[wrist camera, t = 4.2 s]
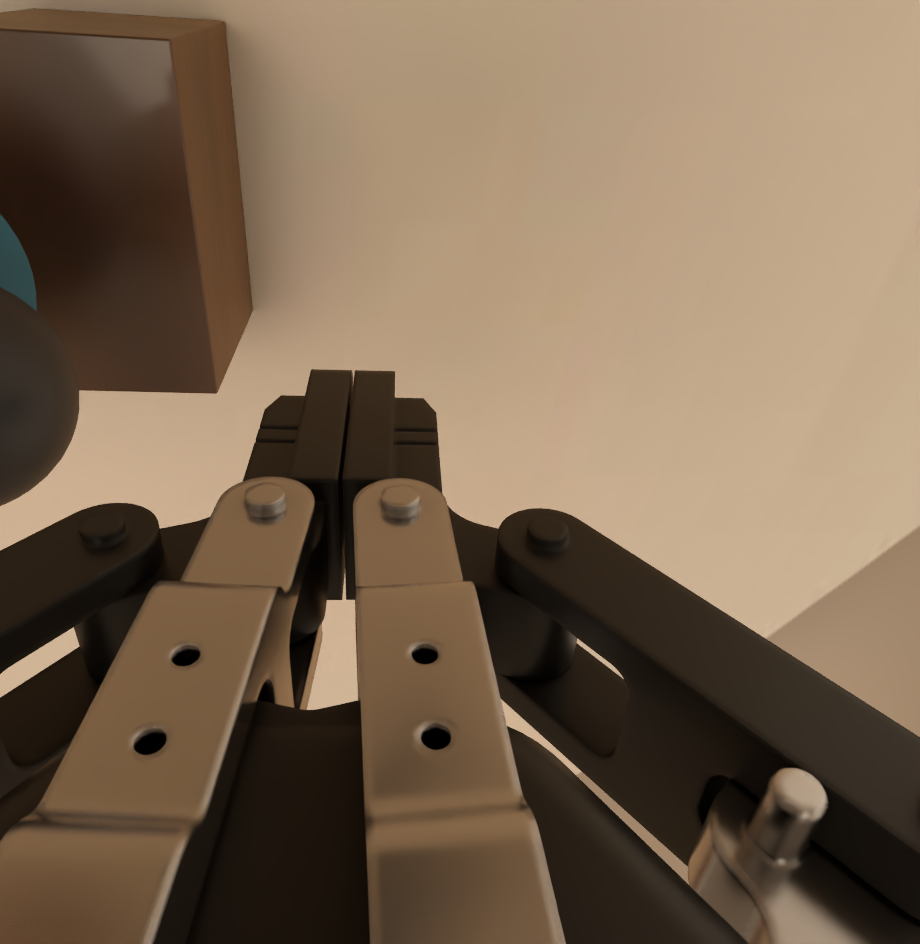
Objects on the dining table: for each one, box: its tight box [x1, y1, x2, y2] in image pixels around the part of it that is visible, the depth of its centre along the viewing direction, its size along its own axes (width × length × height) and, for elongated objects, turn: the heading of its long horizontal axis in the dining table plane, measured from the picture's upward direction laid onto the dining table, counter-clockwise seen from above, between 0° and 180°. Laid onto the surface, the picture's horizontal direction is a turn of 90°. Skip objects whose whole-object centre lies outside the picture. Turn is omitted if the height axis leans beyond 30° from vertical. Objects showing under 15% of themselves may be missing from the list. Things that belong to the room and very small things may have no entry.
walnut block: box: [0, 8, 253, 393], centre depth 24 cm, size 6×10×7 cm, turn 177°
